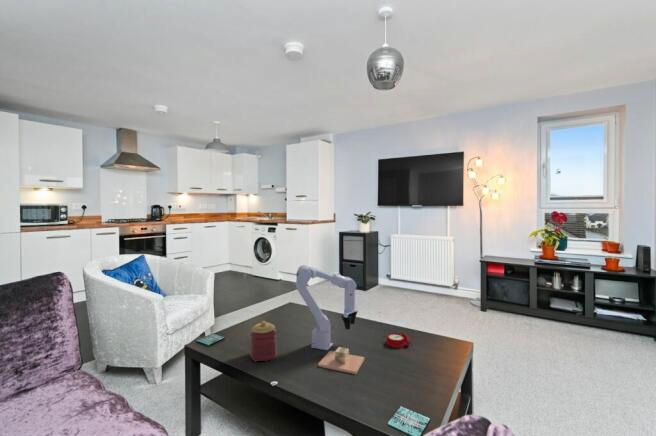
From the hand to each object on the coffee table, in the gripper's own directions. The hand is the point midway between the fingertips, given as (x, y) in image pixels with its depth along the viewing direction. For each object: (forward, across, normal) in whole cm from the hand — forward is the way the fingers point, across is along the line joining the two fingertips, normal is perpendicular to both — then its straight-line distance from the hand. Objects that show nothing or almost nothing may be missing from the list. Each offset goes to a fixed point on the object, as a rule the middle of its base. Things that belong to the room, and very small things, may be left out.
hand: (349, 326), depth 166 cm
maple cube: (+8, -21, -3) cm, 23 cm away
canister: (+10, -29, +35) cm, 46 cm away
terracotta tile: (+9, -21, -3) cm, 23 cm away
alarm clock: (+10, +10, -24) cm, 28 cm away
